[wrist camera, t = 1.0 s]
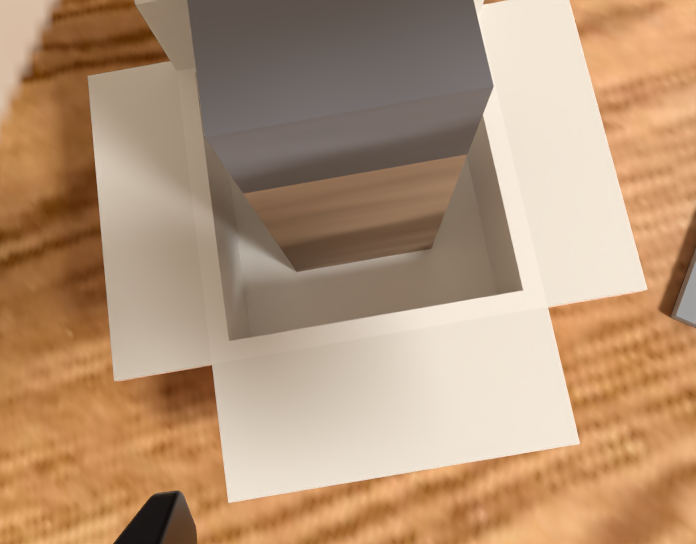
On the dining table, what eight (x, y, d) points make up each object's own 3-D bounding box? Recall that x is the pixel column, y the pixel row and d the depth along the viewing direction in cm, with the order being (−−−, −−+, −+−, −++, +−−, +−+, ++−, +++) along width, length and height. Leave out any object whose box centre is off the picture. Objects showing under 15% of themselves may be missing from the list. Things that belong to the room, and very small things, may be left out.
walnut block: (431, 248, 22) (493, 86, 10) (296, 272, 22) (204, 137, 10) (410, 147, 23) (447, -112, 11) (281, 170, 23) (179, -63, 11)
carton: (626, 419, 21) (762, 435, 14) (172, 495, 21) (63, 552, 14) (535, 55, 24) (605, -94, 16) (134, 127, 24) (27, 11, 17)
